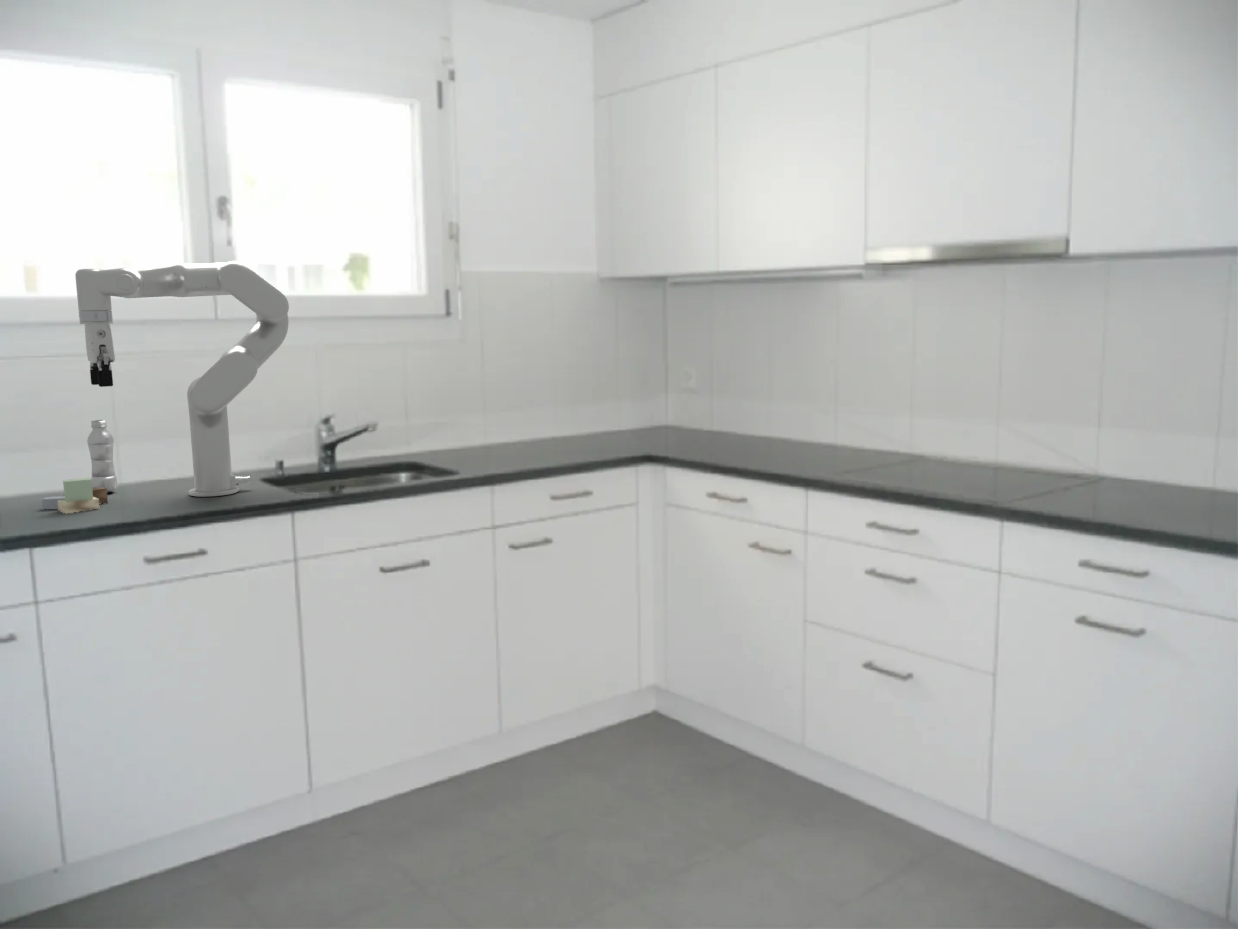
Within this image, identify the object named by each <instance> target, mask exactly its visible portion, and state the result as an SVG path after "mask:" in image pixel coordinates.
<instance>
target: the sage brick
mask: <svg viewBox="0 0 1238 929" xmlns="http://www.w3.org/2000/svg"><path fill="white" fill-rule="evenodd" d="M62 485H63V486H62V487H63V493H64V494H63V496H65V501H66V502H70V501H80V500H90V499H93V491H92V480H91V477H82V478H71V479H63V480H62Z"/></svg>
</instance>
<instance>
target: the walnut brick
mask: <svg viewBox="0 0 1238 929" xmlns="http://www.w3.org/2000/svg"><path fill="white" fill-rule="evenodd" d="M92 491H93V497H95V498H98V499H99V504H100V503H106V504H108V503H109V502H108V493H107V489H106V488H101V487H97V488H92ZM100 505H101V504H100Z"/></svg>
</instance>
